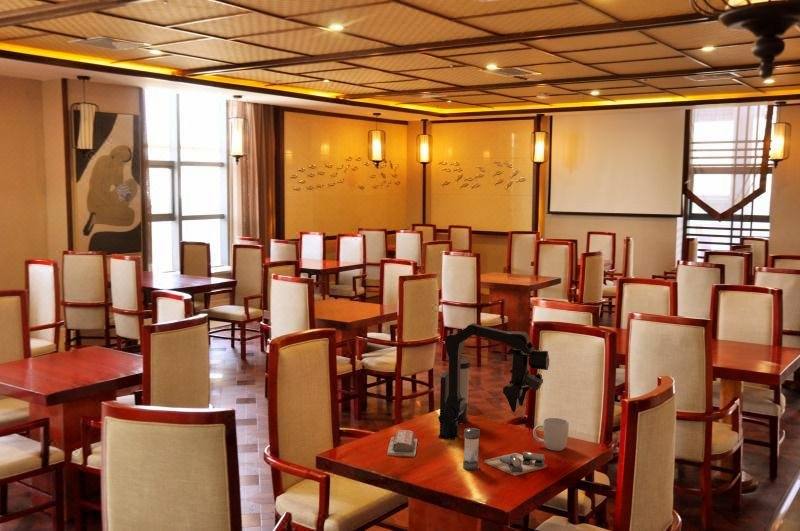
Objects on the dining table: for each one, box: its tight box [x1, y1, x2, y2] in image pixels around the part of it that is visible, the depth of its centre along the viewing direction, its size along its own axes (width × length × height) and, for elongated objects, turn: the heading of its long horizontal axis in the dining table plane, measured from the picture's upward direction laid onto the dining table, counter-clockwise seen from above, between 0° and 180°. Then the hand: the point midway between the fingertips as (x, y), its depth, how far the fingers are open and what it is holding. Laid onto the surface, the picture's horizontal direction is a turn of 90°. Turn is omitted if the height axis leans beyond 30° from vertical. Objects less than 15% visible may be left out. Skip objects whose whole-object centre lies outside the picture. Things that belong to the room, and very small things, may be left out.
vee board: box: [483, 452, 548, 477], centre depth 260 cm, size 15×15×1 cm
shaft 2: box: [522, 451, 546, 467], centre depth 259 cm, size 7×4×4 cm, turn 67°
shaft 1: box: [508, 453, 523, 472], centre depth 254 cm, size 7×4×4 cm, turn 3°
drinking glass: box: [462, 427, 481, 472], centre depth 256 cm, size 5×5×13 cm
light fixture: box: [439, 359, 471, 424], centre depth 310 cm, size 12×11×25 cm
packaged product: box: [386, 429, 419, 457], centre depth 276 cm, size 18×5×10 cm
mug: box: [532, 417, 570, 452], centre depth 279 cm, size 13×9×10 cm
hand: (517, 408), depth 279 cm, fingers open, 9 cm apart
